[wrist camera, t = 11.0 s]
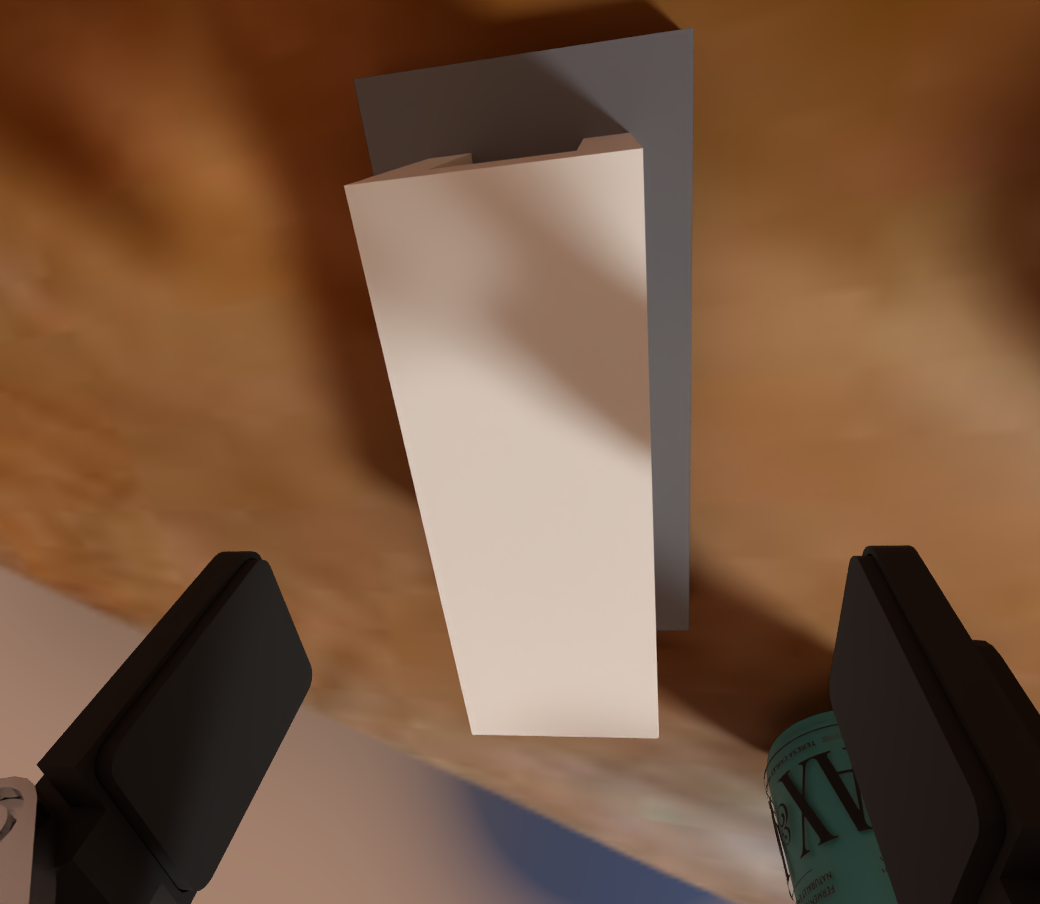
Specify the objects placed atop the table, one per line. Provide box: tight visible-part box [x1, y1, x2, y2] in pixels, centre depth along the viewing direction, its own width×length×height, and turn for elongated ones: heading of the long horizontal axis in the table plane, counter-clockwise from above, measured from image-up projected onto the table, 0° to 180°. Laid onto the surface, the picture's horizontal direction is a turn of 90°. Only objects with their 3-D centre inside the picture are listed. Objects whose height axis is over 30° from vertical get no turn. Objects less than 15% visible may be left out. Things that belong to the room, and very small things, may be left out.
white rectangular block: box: [344, 133, 659, 738], centre depth 16 cm, size 14×5×6 cm, turn 7°
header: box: [353, 28, 694, 631], centre depth 18 cm, size 18×8×6 cm, turn 7°
